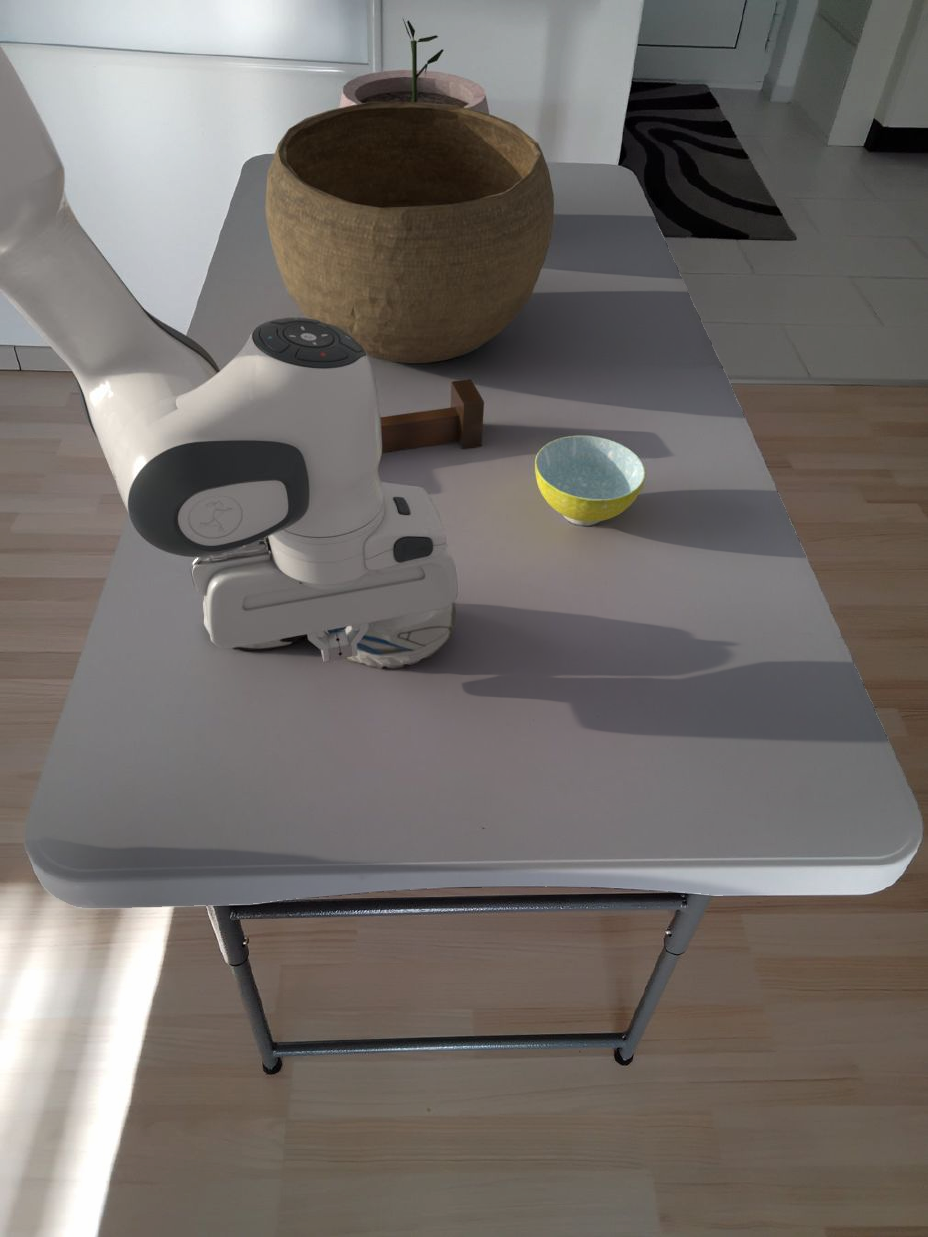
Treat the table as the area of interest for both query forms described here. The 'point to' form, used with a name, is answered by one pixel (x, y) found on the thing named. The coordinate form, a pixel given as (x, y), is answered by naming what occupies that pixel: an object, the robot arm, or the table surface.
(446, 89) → the plant pot
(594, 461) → the bowl
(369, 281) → the basket
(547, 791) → the table surface
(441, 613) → the athletic shoe
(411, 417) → the wooden rail
